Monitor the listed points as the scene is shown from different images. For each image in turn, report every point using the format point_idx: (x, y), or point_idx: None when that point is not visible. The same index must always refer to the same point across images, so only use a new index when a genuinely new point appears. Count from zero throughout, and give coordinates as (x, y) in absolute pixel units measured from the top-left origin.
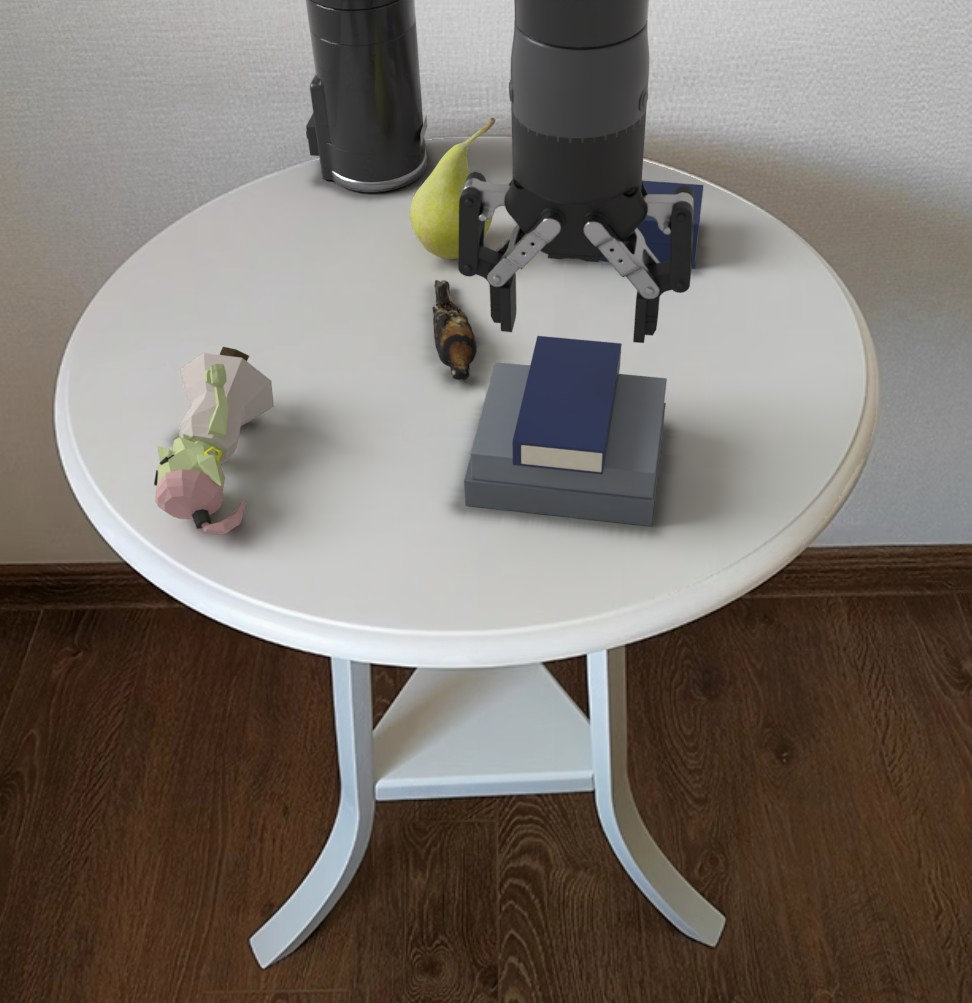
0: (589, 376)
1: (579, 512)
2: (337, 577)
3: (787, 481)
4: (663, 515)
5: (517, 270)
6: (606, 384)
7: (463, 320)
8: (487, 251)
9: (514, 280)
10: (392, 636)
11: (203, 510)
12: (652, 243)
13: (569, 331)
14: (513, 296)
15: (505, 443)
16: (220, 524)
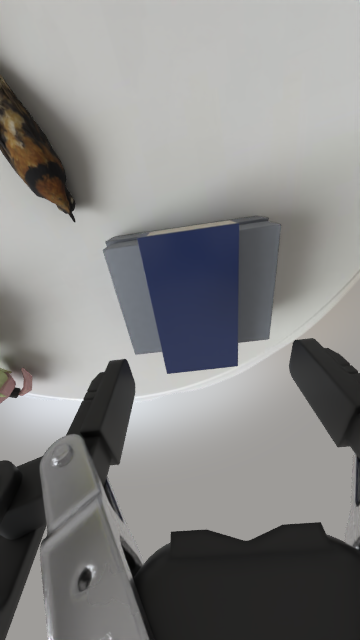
0: (211, 290)
1: None
2: None
3: (350, 250)
4: None
5: (124, 519)
6: (230, 297)
7: (16, 122)
8: (31, 508)
9: (110, 423)
10: (141, 398)
11: (10, 394)
12: None
13: (137, 60)
14: (120, 410)
15: (155, 341)
16: (25, 391)
